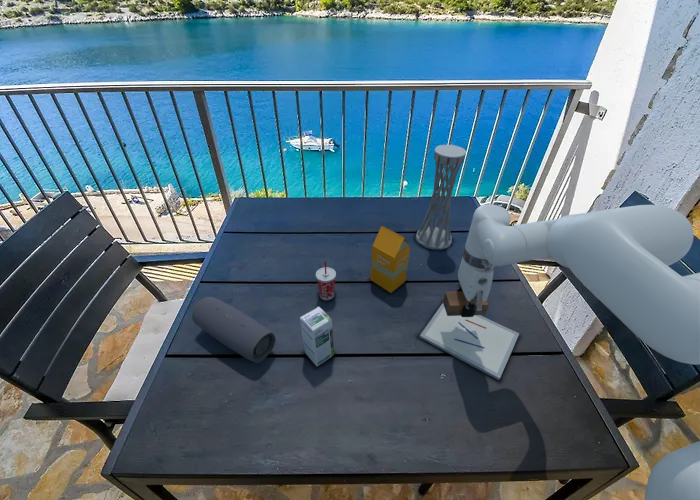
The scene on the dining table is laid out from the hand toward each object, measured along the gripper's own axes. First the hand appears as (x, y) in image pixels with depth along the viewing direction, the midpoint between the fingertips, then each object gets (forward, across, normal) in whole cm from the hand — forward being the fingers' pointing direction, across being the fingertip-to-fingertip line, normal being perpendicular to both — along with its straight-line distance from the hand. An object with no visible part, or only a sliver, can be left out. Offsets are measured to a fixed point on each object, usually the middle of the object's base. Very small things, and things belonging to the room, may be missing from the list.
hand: (463, 307), depth 92 cm
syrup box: (+10, -7, +39) cm, 40 cm away
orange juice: (+10, +21, +17) cm, 29 cm away
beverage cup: (+10, +15, +37) cm, 41 cm away
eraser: (0, 0, 0) cm, 0 cm away
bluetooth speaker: (+10, -2, +61) cm, 62 cm away
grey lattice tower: (+10, +43, -3) cm, 45 cm away
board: (+10, -2, -3) cm, 10 cm away
